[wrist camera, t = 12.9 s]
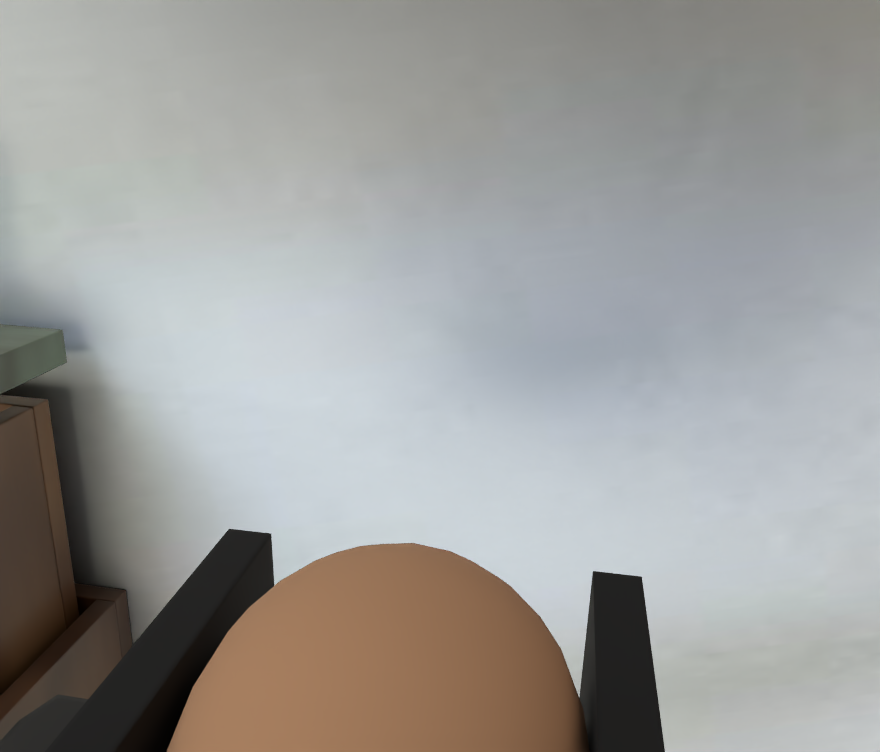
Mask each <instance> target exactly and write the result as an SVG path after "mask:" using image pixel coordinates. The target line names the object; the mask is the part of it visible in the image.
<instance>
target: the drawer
mask: <svg viewBox="0 0 880 752" xmlns="http://www.w3.org/2000/svg"><path fill="white" fill-rule="evenodd" d="M66 362H67V359H66V351H65V344H64V336H63V330H60V329H49V328H37V327H25V326H14V325H2V324H0V394H2V393H4V392H6V391H8V390H10V389H12V388H14V387H16V386H19V385H21V384H23V383H25V382H27V381H29V380H31V379H33V378H35V377H37V376H39V375H42V374H44V373H46V372H48V371H50V370H52V369H54V368H56V367H58V366H60V365H62V364H64V363H66ZM78 618H79V611H78V604H77V597H76V590H75V583H74V576H73V569H72V562H71V555H70V548H69V541H68V534H67V527H66V520H65V514H64V507H63V500H62V493H61V486H60V479H59V472H58V465H57V458H56V451H55V444H54V437H53V430H52V423H51V416H50V409H49V402H48V400H47V399H38V398H28V397H19V396H9V395H0V696H1V695H2V694H3V693H4V692H5V691H6V690H7V689H8V688H9V687H10V686H11V685H12V684H13V683H14V682H15V681H16V680H17V679H18V678H19V677H20V676H21V675H22V674H23V673H24V672H25V671H26V670H27V669H28V668H29V667H30V666H31V665H32V664H33V663H34V662H35V661H36V660H37V659H38V658H39V657H40V656H41V655H42V654H43V653H44V652H45V651H46V650H47V649H48V648H49V647H50V646H51V645H52V644H53V643H54V642H55V641H56V640H57V639H58V638H59V637H60V636H61V635H62V634H63V633H64V632H65V631H66V630H67V629H68V628H69V627H70V626H71V625H72V624H73V623H74V622H75V621H76V620H77V619H78Z"/></svg>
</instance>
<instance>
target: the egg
mask: <svg viewBox="0 0 880 752" xmlns="http://www.w3.org/2000/svg"><path fill="white" fill-rule="evenodd" d="M167 752H590V751H589V744H588V736H587V729H586V723H585V717H584V711H583V707H582V705H581V702H580V699H579V696H578V694H577V691H576V688H575V686H574V683H573V680H572V678H571V675H570V672H569V669H568V667H567V664H566V661H565V659H564V656H563V653H562V651H561V648H560V647H559V645H558V644H557V642H556V641H555V639H554V638H553V636H552V634H551V633H550V631H549V630H548V628H547V627H546V625H545V624H544V622H543V620H542V619H541V617H540V616H539V615H538V614H537V613H536V612H535V611H534V610H533V609H532V608H531V607H530V606H529V605H528V604H527V603H526V602H525V601H524V600H523V599H522V598H521V597H520V596H519V595H518V593H517V592H516V591H515V590H514V589H513V588H512V587H511V586H509V585H508V584H507V583H505V582H504V581H503V580H501V579H500V578H498V577H497V576H495V575H493V574H492V573H490V572H489V571H487V570H485V569H484V568H482V567H480V566H479V565H477V564H476V563H474V562H472V561H470V560H468V559H466V558H464V557H461V556H459V555H457V554H455V553H453V552H450V551H446V550H442V549H437V548H433V547H428V546H424V545H419V544H415V543H402V544H379V545H368V546H359V547H355V548H352V549H348V550H344V551H340V552H336V553H334V554H331V555H329V556H326V557H324V558H321V559H318V560H316V561H314V562H312V563H310V564H309V565H307V566H305V567H304V568H302V569H300V570H298V571H297V572H295V573H293V574H291V575H290V576H288V577H286V578H285V579H283V580H281V581H280V582H279V583H277V584H276V585H275V586H274V587H273V588H271V589H270V590H269V591H268V592H267V593H266V594H264V595H263V596H262V597H261V598H260V599H258V600H257V601H256V602H255V603H254V604H252V605H251V606H250V607H249V608H248V609H247V610H246V611H245V612H244V614H243V615H242V616H241V617H240V618H239V619H238V621H237V622H236V623H235V624H234V625H233V626H232V628H231V629H230V630H229V631H228V632H227V634H226V636H225V637H224V639H223V640H222V642H221V643H220V645H219V647H218V648H217V650H216V651H215V653H214V654H213V656H212V658H211V659H210V661H209V662H208V664H207V665H206V667H205V669H204V670H203V672H202V673H201V675H200V677H199V678H198V680H197V681H196V683H195V684H194V686H193V688H192V690H191V693H190V695H189V698H188V700H187V702H186V705H185V707H184V710H183V712H182V715H181V717H180V720H179V722H178V725H177V727H176V730H175V732H174V734H173V737H172V739H171V742H170V744H169V747H168V749H167Z"/></svg>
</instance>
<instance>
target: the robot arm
mask: <svg viewBox="0 0 880 752" xmlns="http://www.w3.org/2000/svg"><path fill="white" fill-rule="evenodd" d="M273 587H274V575H273V558H272V541H271V534H269V533H260V532H252V531H243V530H234V529H229V530H228V531H227V532H226V533H225V535H224V536H223V537H222V538H221V539H220V541H219V542H218V543H217V544H216V546H215V547H214V548H213V549H212V550H211V552H210V553H209V554H208V555H207V556H206V558H205V559H204V560H203V561H202V562H201V564H200V565H199V566H198V567H197V568H196V570H195V571H194V572H193V573H192V574H191V576H190V577H189V578H188V579H187V581H186V582H185V583H184V584H183V585H182V587H181V588H180V589H179V590H178V591H177V593H176V594H175V595H174V596H173V597H172V599H171V600H170V601H169V602H168V603H167V605H166V606H165V607H164V608H163V610H162V611H161V612H160V613H159V614H158V616H157V617H156V618H155V619H154V620H153V622H152V623H151V624H150V625H149V626H148V628H147V629H146V630H145V631H144V632H143V634H142V635H141V636H140V637H139V639H138V640H137V641H136V642H135V643H134V645H133V646H132V647H131V648H130V649H129V651H128V652H127V653H126V654H125V655H124V657H123V658H122V659H121V660H120V661H119V663H118V664H117V665H116V666H115V667H114V669H113V670H112V671H111V672H110V674H109V675H108V676H107V677H106V678H105V680H104V681H103V682H102V683H101V684H100V686H99V687H98V688H97V689H96V690H95V692H94V693H93V694H92V695H91V696H90V698H89V699H84V698H78V697H71V696H65V695H59V694H58V695H56V696H55V697H53V698H52V699H50V700H49V701H47V702H46V703H44V704H43V705H41V706H40V707H38V708H37V709H35V710H34V711H32V712H31V713H29V714H28V715H26V716H25V717H23V718H22V719H20V720H19V721H18V722H17V723H16V724H15V725H14V726H13V727H12V729H11V730H10V731H9V732H8V733H7V734H6V735H5V736H4V737H3V738H2V740H1V741H0V752H167V749H168V747H169V744H170V742H171V739H172V737H173V734H174V732H175V730H176V727H177V725H178V722H179V720H180V717H181V715H182V712H183V710H184V707H185V705H186V702H187V700H188V698H189V695H190V693H191V690H192V688H193V686H194V684H195V683H196V681H197V680H198V678H199V677H200V675H201V673H202V672H203V670H204V669H205V667H206V665H207V664H208V662H209V661H210V659H211V658H212V656H213V654H214V653H215V651H216V650H217V648H218V647H219V645H220V643H221V642H222V640H223V639H224V637H225V636H226V634H227V632H228V631H229V630H230V629H231V628H232V626H233V625H234V624H235V623H236V622H237V621H238V619H239V618H240V617H241V616H242V615H243V614H244V612H245V611H246V610H247V609H248V608H249V607H250V606H251V605H252V604H254V603H255V602H256V601H257V600H258V599H260V598H261V597H262V596H263V595H264V594H266V593H267V592H268V591H269V590H270V589H271V588H273ZM579 699H580V702H581V705H582V707H583V711H584V717H585V723H586V729H587V736H588V744H589V751H590V752H665V749H664V742H663V734H662V727H661V719H660V712H659V704H658V697H657V689H656V681H655V674H654V666H653V659H652V651H651V644H650V636H649V629H648V621H647V613H646V606H645V598H644V591H643V583H642V577H639V576H630V575H621V574H613V573H604V572H596V571H593V577H592V586H591V595H590V605H589V614H588V623H587V633H586V642H585V651H584V661H583V670H582V679H581V689H580V698H579Z"/></svg>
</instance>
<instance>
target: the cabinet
mask: <svg viewBox="0 0 880 752" xmlns="http://www.w3.org/2000/svg"><path fill="white" fill-rule="evenodd" d="M75 590H76V597H77V604H78V611H79V618H78V619H77V620H76V621H75V622H74V623H73V624H72V625H71V626H70V627H69V628H68V629H67V630H66V631H65V632H64V633H63V634H62V635H61V636H60V637H59V638H58V639H57V640H56V641H55V642H54V643H53V644H52V645H51V646H50V647H49V648H48V649H47V650H46V651H45V652H44V653H43V654H42V655H41V656H40V657H39V658H38V659H37V660H36V661H35V662H34V663H33V664H32V665H31V666H30V667H29V668H28V669H27V670H26V671H25V672H24V673H23V674H22V675H21V676H20V677H19V678H18V679H17V680H16V681H15V682H14V683H13V684H12V685H11V686H10V687H9V688H8V689H7V690H6V691H5V692H4V693H3V694H2V695H1V696H0V741H1V740H2V738H3V737H4V736H5V735H6V734H7V733H8V732H9V731H10V730H11V729H12V727H13V726H14V725H15V724H16V723H17V722H18V721H19V720H20V719H22V718H23V717H25V716H26V715H28V714H29V713H31V712H32V711H34V710H35V709H37V708H38V707H40V706H41V705H43V704H44V703H46V702H47V701H49V700H50V699H52V698H53V697H55V696H56V695H58V694H59V695H65V696H71V697H78V698H84V699H89V698H90V696H91V695H92V694H93V693H94V692H95V690H96V689H97V688H98V687H99V686H100V684H101V683H102V682H103V681H104V680H105V678H106V677H107V676H108V675H109V674H110V672H111V671H112V670H113V669H114V667H115V666H116V665H117V664H118V663H119V661H120V660H121V659H122V658H123V657H124V655H125V654H126V653H127V652H128V651H129V649H130V648H131V647H132V646H133V645H132V637H131V628H130V620H129V612H128V603H127V595H126V590H121V589H114V588H107V587H100V586H92V585H85V584H78V583H75Z"/></svg>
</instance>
